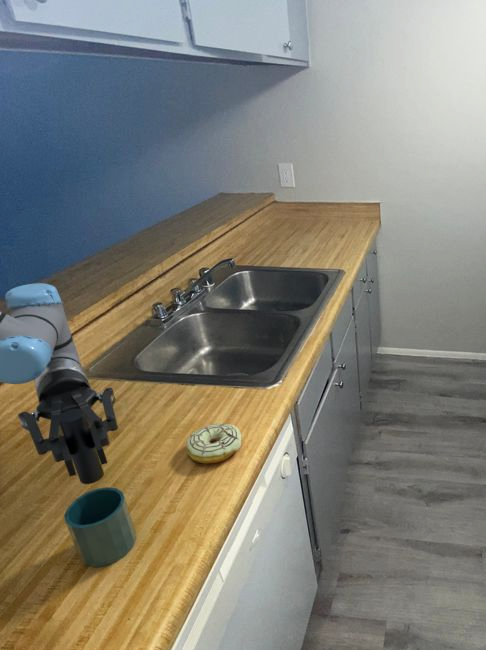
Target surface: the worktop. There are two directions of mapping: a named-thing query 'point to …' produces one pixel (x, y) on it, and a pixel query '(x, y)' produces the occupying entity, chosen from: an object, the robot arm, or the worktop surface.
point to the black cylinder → (81, 445)
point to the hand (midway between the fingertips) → (86, 462)
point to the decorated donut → (213, 443)
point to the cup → (100, 526)
